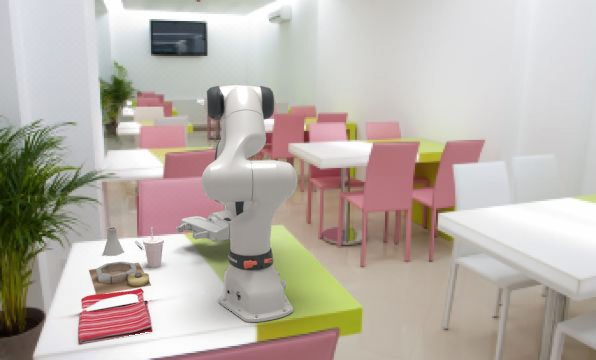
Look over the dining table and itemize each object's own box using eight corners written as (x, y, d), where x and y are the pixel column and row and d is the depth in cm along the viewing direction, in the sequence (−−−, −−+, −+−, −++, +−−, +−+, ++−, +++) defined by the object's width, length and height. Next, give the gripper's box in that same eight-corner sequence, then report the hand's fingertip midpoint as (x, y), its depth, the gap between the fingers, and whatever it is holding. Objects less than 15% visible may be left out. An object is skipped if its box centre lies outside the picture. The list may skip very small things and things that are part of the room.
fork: (138, 239, 193) (138, 234, 192) (154, 259, 172) (153, 254, 172) (129, 240, 191) (129, 235, 191) (144, 261, 171) (144, 256, 170)
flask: (117, 260, 169) (115, 232, 167) (97, 258, 171) (95, 230, 169) (128, 253, 176) (127, 225, 174) (109, 251, 178) (108, 224, 176)
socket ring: (138, 279, 151) (138, 272, 151) (99, 286, 146) (99, 278, 146) (132, 267, 161) (132, 259, 160) (95, 273, 156) (94, 265, 155)
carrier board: (151, 289, 148) (151, 276, 147) (96, 298, 141) (95, 285, 140) (138, 266, 165) (138, 254, 164) (89, 273, 158) (88, 261, 157)
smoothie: (140, 270, 161) (137, 228, 158) (152, 263, 167) (151, 222, 164) (156, 273, 159) (154, 230, 156) (169, 266, 165) (167, 225, 162)
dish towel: (145, 295, 145) (144, 286, 144) (154, 334, 124) (153, 324, 123) (80, 304, 139) (79, 295, 138) (77, 347, 117) (76, 336, 117)
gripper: (200, 210, 186) (167, 217, 176) (236, 222, 173) (203, 231, 163) (200, 226, 188) (168, 234, 178) (236, 239, 174) (204, 249, 164)
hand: (185, 233), depth 170 cm, fingers open, 8 cm apart
